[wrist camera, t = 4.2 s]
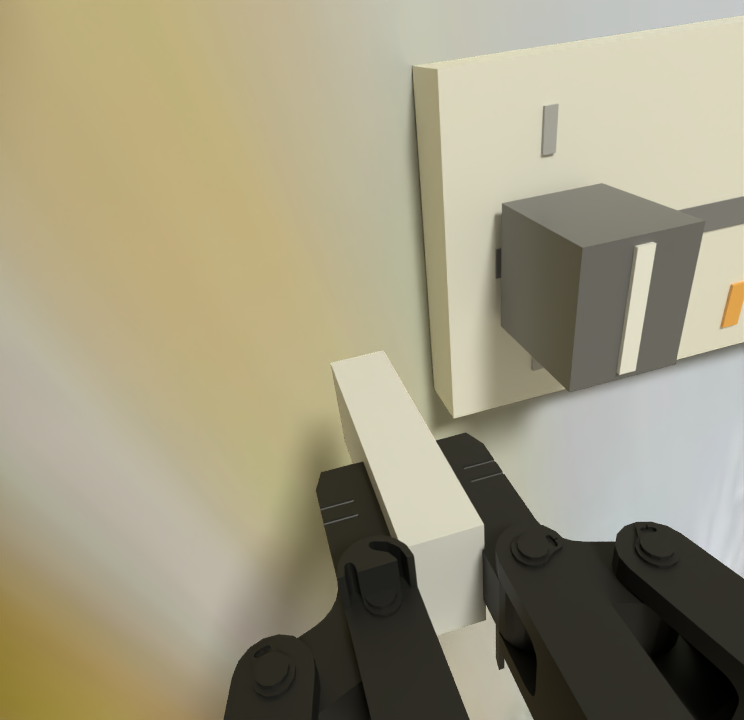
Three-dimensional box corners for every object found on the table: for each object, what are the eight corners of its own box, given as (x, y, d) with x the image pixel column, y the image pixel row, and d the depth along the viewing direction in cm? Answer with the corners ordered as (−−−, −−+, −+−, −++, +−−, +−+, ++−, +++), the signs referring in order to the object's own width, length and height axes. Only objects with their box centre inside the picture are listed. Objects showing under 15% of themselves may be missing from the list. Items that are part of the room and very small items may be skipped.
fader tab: (500, 325, 22) (571, 394, 18) (501, 203, 20) (585, 249, 15) (589, 304, 23) (678, 366, 19) (602, 183, 20) (709, 221, 16)
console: (434, 388, 27) (455, 420, 25) (412, 65, 19) (439, 69, 17) (840, 286, 31) (890, 305, 28) (951, -17, 23) (1029, -23, 21)
